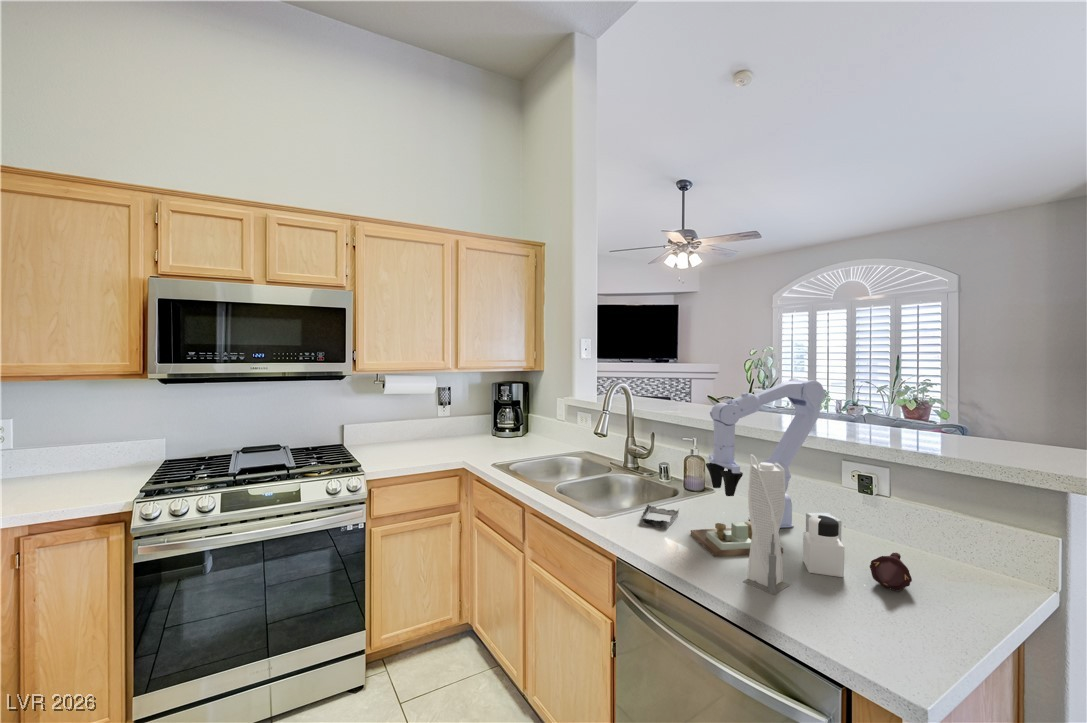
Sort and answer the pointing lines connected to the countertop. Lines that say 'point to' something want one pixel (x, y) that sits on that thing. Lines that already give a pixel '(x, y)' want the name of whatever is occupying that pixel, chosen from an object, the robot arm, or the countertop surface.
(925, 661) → the countertop surface
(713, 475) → the robot arm
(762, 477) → the skyscraper
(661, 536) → the countertop surface
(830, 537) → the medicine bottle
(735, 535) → the panel
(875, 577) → the dark maroon knobbed disc
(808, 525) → the skincare box
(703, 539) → the board
